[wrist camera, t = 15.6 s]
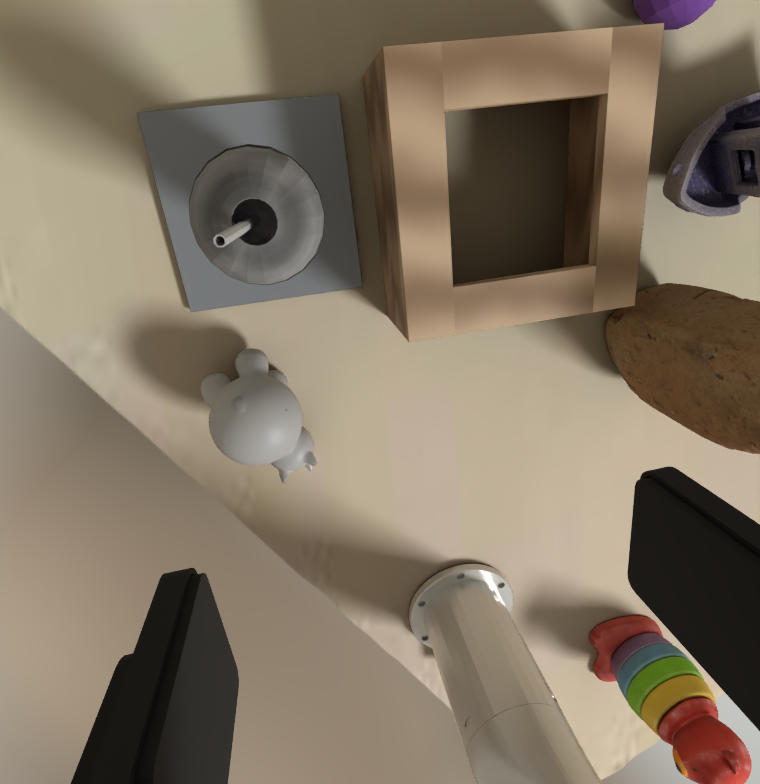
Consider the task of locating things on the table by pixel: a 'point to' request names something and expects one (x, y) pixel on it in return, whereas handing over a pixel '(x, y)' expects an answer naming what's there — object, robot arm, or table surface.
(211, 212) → the beverage cup
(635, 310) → the block
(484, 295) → the box
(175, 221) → the mat
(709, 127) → the toy boat
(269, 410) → the chubby cartoon animal
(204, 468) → the table surface
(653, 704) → the stacking bear
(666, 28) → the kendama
